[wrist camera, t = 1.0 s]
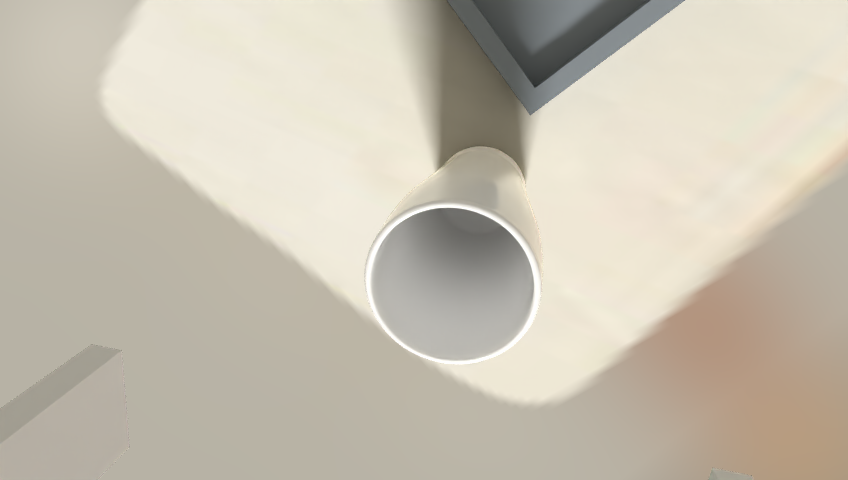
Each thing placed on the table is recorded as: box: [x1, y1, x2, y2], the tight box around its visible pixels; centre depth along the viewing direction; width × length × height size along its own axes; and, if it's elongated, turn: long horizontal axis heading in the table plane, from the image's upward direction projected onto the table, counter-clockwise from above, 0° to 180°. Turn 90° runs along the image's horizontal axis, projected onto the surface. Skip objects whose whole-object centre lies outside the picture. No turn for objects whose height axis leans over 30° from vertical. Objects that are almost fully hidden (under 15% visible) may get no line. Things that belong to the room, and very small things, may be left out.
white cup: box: [365, 146, 543, 364], centre depth 28 cm, size 7×7×15 cm
